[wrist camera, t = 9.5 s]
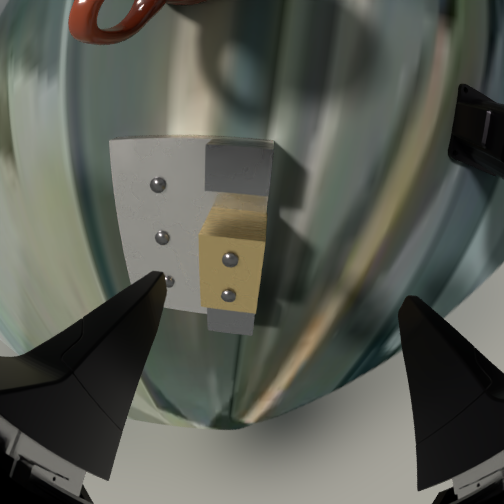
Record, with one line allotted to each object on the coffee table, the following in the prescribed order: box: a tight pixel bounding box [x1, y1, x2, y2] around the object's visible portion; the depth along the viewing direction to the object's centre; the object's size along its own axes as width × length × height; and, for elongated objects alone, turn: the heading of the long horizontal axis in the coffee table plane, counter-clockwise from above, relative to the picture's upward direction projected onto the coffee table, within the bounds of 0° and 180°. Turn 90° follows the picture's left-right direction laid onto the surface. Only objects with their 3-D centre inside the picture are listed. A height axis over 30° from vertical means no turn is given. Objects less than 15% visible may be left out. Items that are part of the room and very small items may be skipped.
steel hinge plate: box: [109, 135, 274, 335], centre depth 21 cm, size 12×16×3 cm
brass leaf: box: [198, 207, 267, 314], centre depth 19 cm, size 4×6×4 cm, turn 175°
